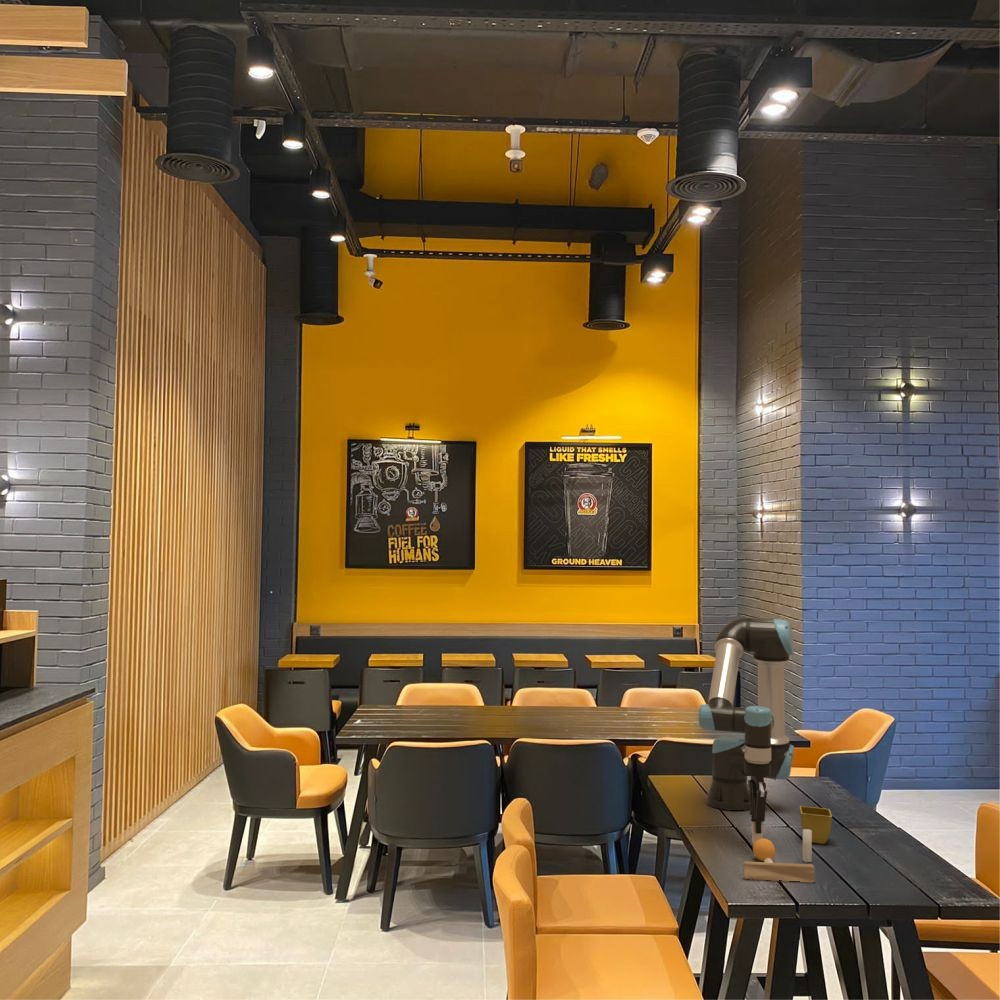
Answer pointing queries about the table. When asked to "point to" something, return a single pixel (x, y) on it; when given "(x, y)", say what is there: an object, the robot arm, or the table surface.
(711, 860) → the table surface
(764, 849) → the ball
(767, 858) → the cream pin
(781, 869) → the back wall
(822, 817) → the flower pot
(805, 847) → the beige tapered peg
